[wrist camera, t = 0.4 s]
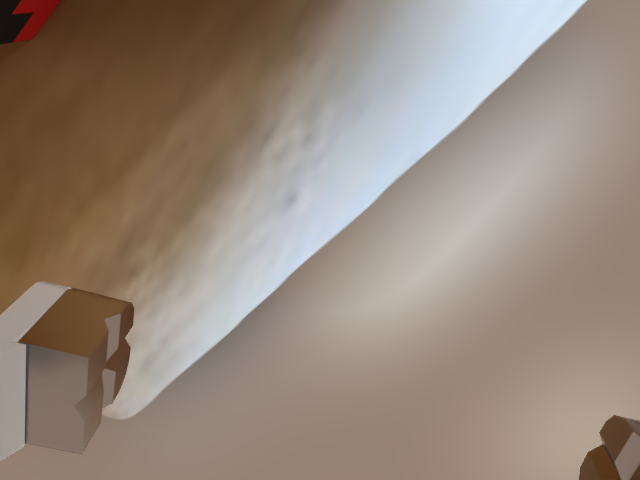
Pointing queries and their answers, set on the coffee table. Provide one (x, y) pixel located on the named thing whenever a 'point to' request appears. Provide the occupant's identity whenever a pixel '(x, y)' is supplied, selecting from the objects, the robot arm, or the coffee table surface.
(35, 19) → the puzzle toy
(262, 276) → the coffee table surface
